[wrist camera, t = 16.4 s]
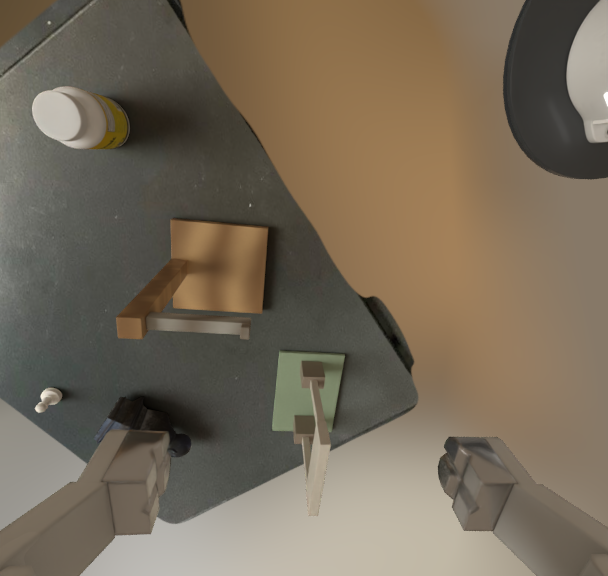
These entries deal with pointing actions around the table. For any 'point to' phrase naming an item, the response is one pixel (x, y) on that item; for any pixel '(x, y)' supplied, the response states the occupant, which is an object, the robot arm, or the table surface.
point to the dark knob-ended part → (143, 424)
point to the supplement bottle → (81, 118)
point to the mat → (299, 399)
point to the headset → (313, 435)
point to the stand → (203, 281)
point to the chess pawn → (48, 399)
